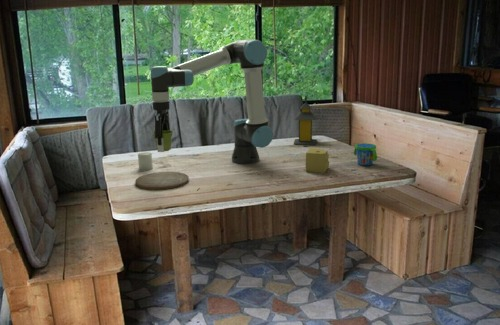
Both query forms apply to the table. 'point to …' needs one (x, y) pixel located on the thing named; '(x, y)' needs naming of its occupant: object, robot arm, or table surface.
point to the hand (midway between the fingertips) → (163, 149)
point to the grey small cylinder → (145, 161)
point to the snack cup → (365, 153)
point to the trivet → (162, 180)
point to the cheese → (317, 160)
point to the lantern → (305, 125)
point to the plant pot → (165, 139)
